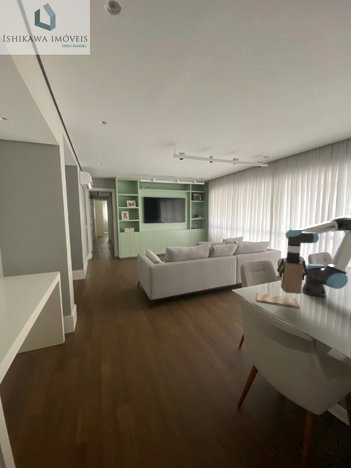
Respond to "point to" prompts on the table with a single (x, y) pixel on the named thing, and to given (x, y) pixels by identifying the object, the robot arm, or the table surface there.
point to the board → (277, 300)
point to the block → (292, 277)
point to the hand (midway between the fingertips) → (291, 283)
